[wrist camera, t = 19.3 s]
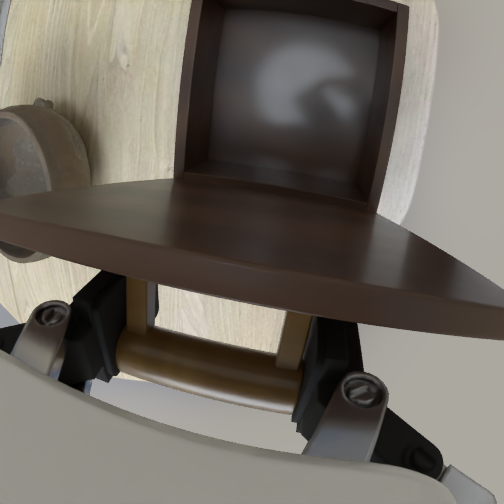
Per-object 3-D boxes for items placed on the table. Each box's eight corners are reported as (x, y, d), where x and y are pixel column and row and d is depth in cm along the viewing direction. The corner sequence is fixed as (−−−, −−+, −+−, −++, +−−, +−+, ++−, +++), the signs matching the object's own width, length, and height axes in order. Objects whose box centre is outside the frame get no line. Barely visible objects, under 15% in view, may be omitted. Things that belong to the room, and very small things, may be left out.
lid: (-34, 205, 6) (-12, 350, 8) (538, 313, 5) (450, 466, 6) (171, 178, 23) (164, 243, 25) (377, 213, 22) (362, 279, 23)
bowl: (52, 73, 27) (-9, 77, 18) (139, 166, 31) (81, 192, 22) (6, 173, 35) (-44, 195, 26) (75, 258, 38) (28, 296, 29)
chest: (219, 3, 22) (195, -21, 16) (388, 26, 21) (409, 6, 15) (200, 165, 30) (173, 182, 24) (361, 192, 28) (375, 216, 22)
